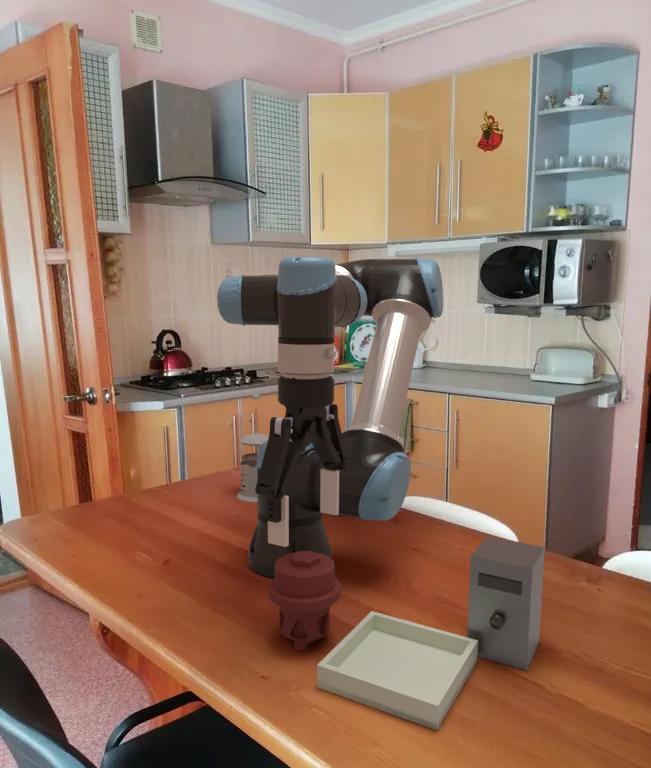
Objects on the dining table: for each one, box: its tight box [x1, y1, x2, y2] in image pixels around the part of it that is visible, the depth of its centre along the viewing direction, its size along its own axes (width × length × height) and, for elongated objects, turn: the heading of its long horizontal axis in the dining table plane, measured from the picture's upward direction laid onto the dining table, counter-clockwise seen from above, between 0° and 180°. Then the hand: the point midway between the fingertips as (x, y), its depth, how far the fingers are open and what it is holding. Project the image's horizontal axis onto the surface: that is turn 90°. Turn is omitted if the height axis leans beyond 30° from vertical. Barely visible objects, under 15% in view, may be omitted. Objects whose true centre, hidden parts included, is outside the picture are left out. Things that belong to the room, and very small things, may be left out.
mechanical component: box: [268, 551, 341, 652], centre depth 89 cm, size 12×10×10 cm
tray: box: [316, 610, 478, 731], centre depth 81 cm, size 16×16×3 cm
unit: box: [467, 535, 546, 672], centre depth 86 cm, size 8×9×14 cm
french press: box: [236, 393, 269, 503], centre depth 152 cm, size 10×12×25 cm
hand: (305, 527), depth 87 cm, fingers open, 13 cm apart
